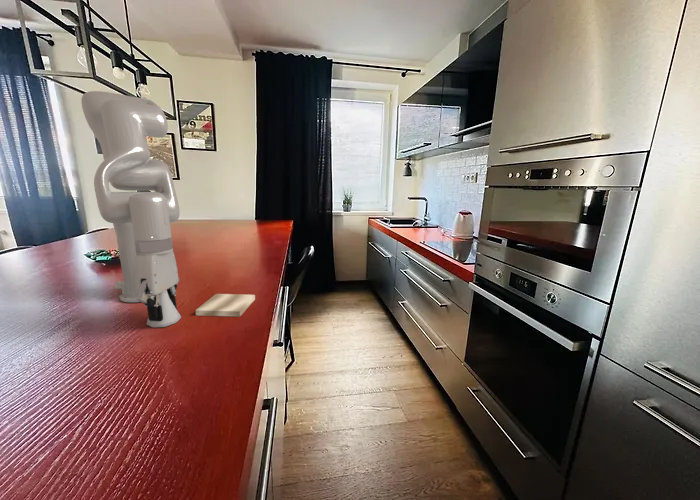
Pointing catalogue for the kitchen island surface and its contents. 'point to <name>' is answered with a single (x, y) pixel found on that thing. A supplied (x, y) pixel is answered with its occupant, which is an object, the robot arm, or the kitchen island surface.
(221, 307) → the birch board
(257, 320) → the kitchen island surface
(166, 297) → the flask
